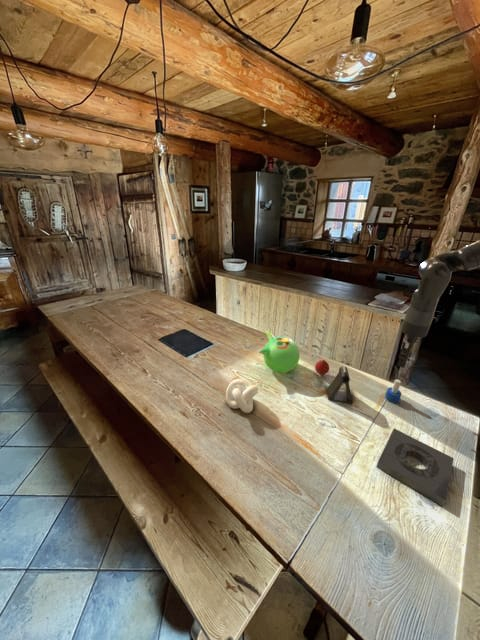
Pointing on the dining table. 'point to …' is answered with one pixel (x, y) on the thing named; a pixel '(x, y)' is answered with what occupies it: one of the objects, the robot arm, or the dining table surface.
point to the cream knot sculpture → (240, 395)
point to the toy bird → (280, 353)
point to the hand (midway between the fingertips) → (403, 361)
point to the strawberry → (322, 367)
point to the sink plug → (394, 392)
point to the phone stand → (335, 386)
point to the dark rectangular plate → (422, 480)
